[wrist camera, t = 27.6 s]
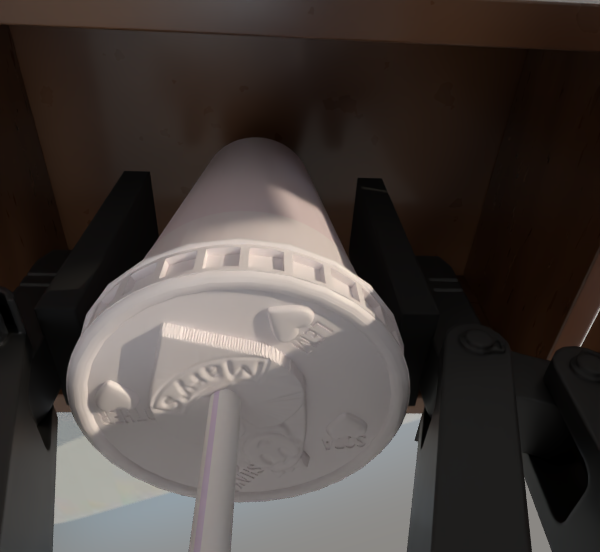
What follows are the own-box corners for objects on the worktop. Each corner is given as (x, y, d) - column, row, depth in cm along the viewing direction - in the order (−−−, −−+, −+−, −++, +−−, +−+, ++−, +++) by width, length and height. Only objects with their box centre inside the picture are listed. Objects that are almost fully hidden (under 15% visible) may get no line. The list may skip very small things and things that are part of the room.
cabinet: (65, 271, 23) (-26, 413, 16) (-26, -52, 16) (-260, -41, 9) (470, 279, 24) (545, 415, 17) (561, -20, 17) (753, 12, 10)
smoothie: (294, 54, 14) (372, 506, 3) (377, 220, 18) (563, 732, 6) (123, 154, 16) (-258, 708, 5) (229, 290, 19) (164, 805, 8)
